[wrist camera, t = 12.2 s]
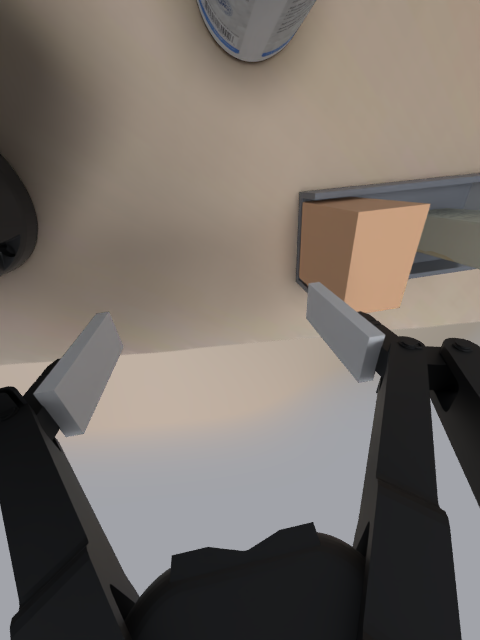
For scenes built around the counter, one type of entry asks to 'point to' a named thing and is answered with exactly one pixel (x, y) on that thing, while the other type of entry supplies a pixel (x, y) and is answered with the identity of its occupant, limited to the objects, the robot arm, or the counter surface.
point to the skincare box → (452, 236)
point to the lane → (437, 192)
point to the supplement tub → (253, 25)
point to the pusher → (361, 248)
